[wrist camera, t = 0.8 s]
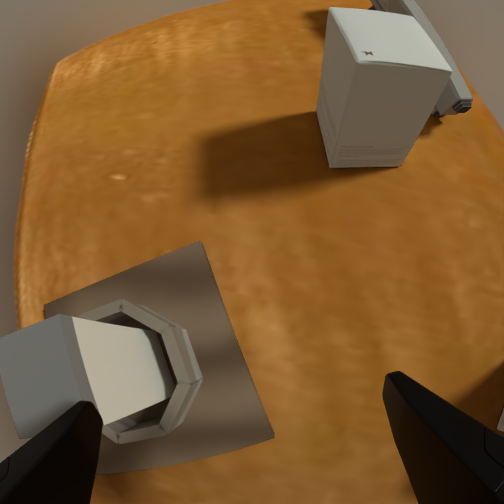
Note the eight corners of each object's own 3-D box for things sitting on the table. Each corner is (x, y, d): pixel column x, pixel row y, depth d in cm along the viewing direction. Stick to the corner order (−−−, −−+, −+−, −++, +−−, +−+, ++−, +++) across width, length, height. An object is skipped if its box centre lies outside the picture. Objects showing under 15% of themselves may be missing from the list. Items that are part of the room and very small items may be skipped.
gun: (363, 1, 34) (379, -44, 24) (434, 139, 32) (477, 105, 22) (349, 0, 34) (363, -46, 24) (419, 141, 32) (461, 104, 23)
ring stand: (274, 433, 21) (273, 453, 17) (102, 471, 21) (75, 487, 16) (203, 245, 26) (188, 224, 21) (51, 307, 25) (19, 298, 21)
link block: (177, 393, 21) (92, 429, 10) (122, 408, 21) (19, 438, 10) (156, 331, 23) (58, 313, 11) (103, 349, 23) (-7, 340, 11)
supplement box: (402, 168, 27) (457, 74, 15) (327, 169, 27) (353, 61, 15) (382, 109, 29) (415, 14, 17) (314, 108, 29) (326, 3, 17)
